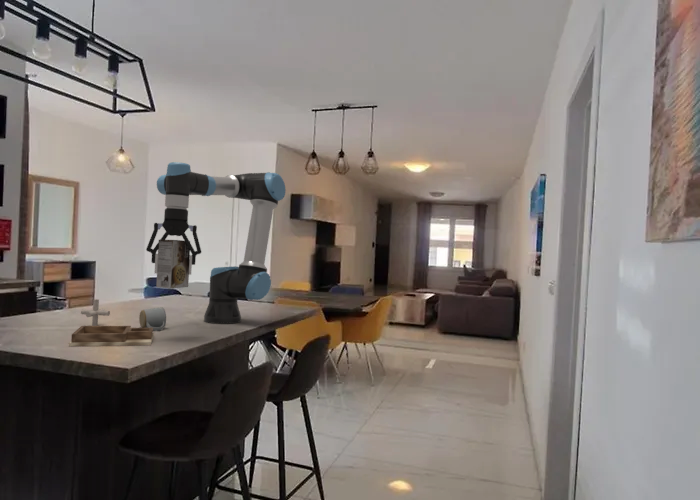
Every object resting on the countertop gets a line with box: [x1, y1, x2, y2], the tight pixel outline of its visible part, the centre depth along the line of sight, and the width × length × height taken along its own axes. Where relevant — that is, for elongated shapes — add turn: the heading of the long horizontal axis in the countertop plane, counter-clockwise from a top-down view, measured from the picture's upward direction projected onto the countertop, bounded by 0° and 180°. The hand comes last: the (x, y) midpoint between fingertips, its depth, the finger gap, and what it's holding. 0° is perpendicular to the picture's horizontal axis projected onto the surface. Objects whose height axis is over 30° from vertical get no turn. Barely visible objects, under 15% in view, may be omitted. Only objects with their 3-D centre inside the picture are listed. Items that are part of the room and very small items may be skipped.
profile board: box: [68, 325, 155, 347], centre depth 162 cm, size 23×17×4 cm
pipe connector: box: [80, 298, 111, 326], centre depth 186 cm, size 10×10×10 cm
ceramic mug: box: [138, 307, 167, 332], centre depth 187 cm, size 11×8×8 cm
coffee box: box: [156, 239, 191, 290], centre depth 170 cm, size 9×6×16 cm
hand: (173, 273), depth 170 cm, fingers closed on coffee box, 10 cm apart
